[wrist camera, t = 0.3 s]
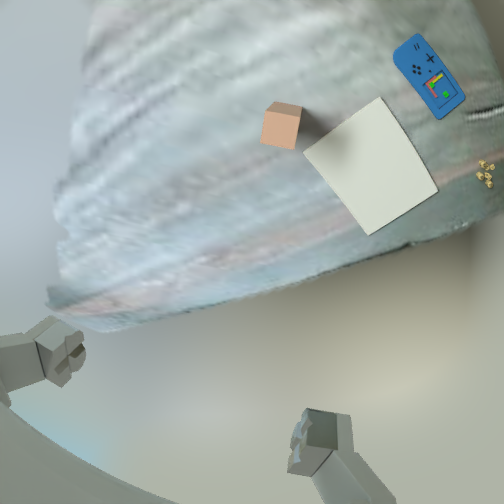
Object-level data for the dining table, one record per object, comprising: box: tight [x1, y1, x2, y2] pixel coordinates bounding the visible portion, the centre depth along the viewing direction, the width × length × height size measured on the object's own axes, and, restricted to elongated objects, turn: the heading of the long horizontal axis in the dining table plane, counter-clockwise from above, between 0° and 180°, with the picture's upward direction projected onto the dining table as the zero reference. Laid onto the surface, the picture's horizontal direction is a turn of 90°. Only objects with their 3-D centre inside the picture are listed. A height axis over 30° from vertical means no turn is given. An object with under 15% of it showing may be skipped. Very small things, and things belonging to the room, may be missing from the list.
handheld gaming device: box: [393, 34, 465, 119], centre depth 39 cm, size 8×1×15 cm
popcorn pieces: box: [476, 160, 495, 188], centre depth 46 cm, size 5×5×2 cm
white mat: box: [303, 97, 438, 235], centre depth 52 cm, size 18×22×1 cm
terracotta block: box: [260, 102, 302, 150], centre depth 45 cm, size 5×5×12 cm
